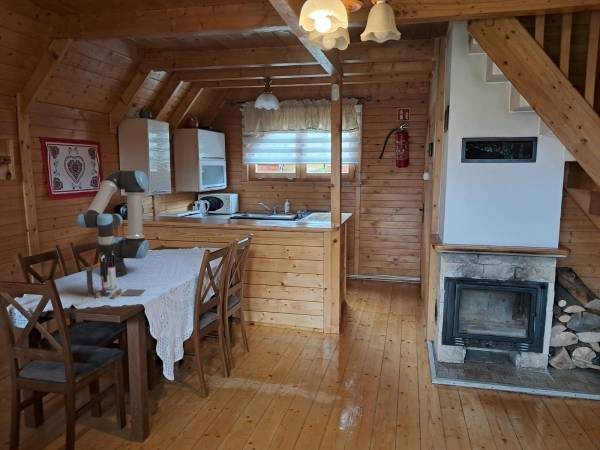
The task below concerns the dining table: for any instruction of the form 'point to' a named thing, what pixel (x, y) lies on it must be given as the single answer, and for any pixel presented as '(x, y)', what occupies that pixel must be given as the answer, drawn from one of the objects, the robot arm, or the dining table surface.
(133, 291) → the pad
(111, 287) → the supplement box
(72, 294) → the dining table surface
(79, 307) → the dining table surface
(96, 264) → the clip
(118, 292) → the socket
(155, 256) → the dining table surface
